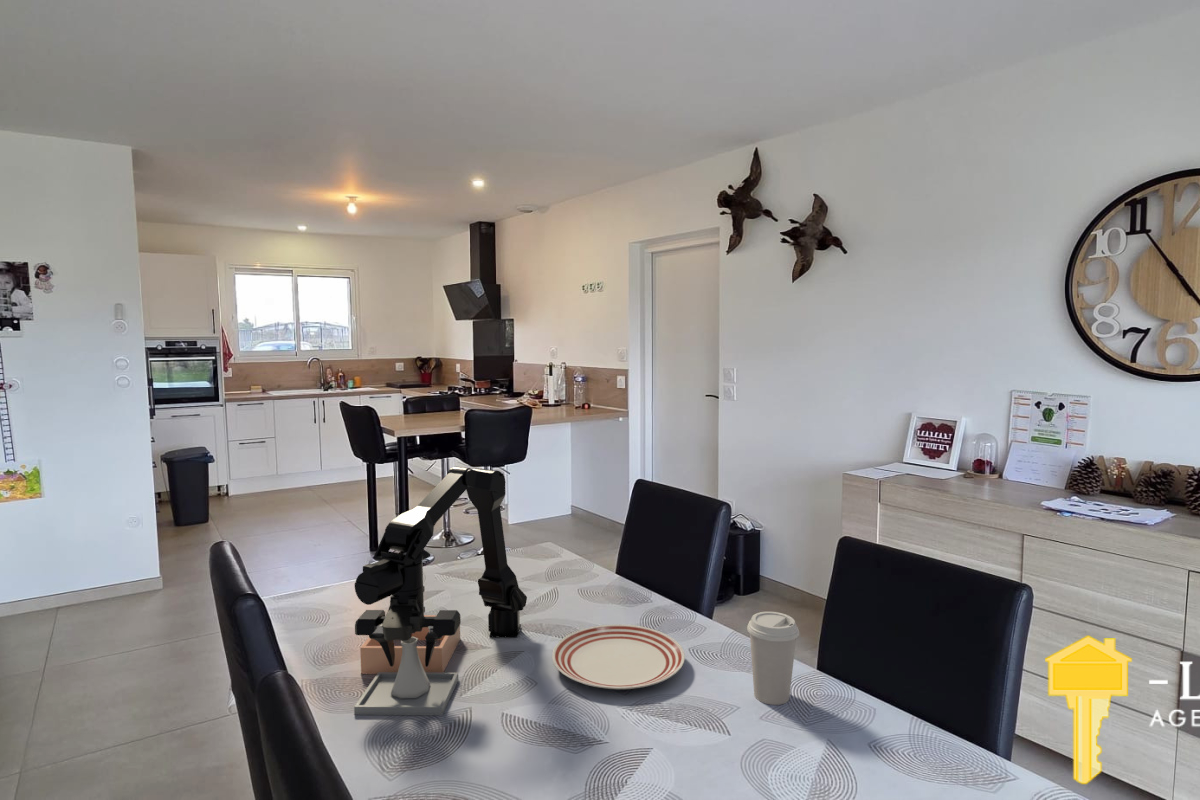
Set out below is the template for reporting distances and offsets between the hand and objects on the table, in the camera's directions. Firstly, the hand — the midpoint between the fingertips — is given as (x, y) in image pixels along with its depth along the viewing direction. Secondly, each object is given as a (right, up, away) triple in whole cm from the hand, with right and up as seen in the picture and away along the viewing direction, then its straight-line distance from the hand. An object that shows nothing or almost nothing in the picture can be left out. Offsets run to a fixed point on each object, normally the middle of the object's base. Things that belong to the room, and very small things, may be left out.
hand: (409, 665), depth 131 cm
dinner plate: (+40, -5, +12) cm, 42 cm away
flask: (0, -5, +1) cm, 5 cm away
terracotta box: (-4, -4, +16) cm, 17 cm away
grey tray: (0, -6, -1) cm, 6 cm away
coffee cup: (+69, -6, -1) cm, 69 cm away
